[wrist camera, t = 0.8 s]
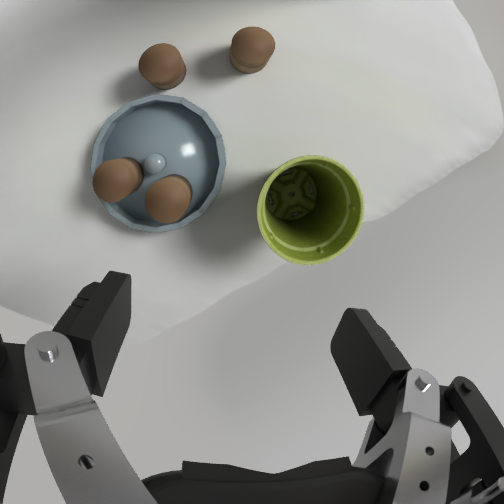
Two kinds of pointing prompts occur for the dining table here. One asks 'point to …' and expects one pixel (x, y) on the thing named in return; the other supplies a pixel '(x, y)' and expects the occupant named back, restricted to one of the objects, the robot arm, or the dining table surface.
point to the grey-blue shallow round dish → (163, 155)
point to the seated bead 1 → (117, 179)
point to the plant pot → (310, 210)
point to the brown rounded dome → (162, 66)
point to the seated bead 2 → (168, 198)
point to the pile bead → (251, 49)
